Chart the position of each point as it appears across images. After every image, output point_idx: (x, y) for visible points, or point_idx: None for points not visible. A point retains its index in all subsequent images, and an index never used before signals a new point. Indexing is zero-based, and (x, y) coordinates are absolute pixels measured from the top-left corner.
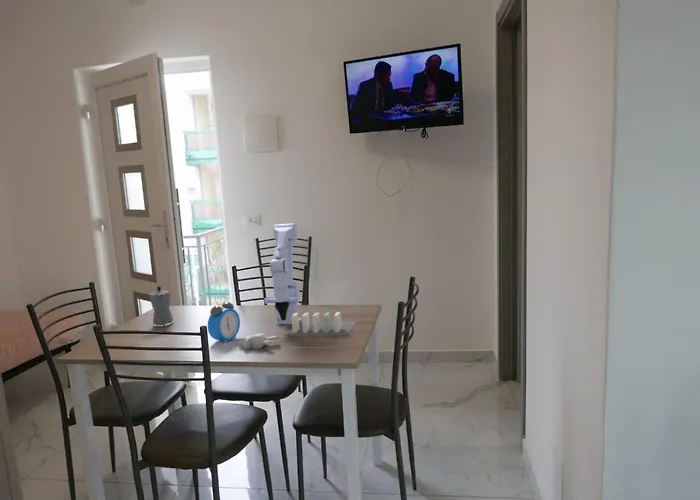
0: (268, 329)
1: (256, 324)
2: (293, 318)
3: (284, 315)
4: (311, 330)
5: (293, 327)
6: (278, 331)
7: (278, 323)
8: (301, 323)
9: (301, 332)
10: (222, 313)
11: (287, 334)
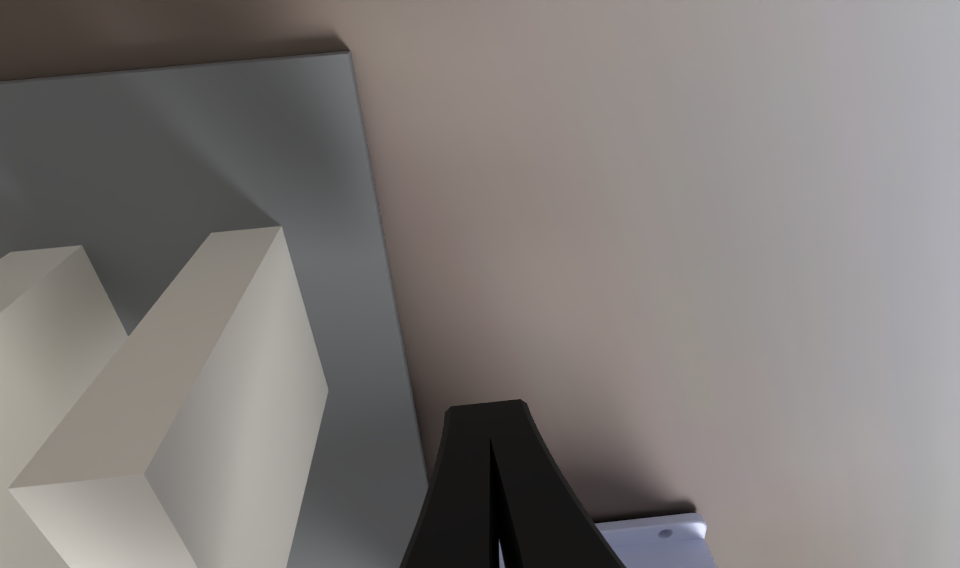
0: (764, 364)
1: (942, 498)
2: (109, 423)
3: (424, 507)
4: None
5: (224, 276)
6: (586, 300)
7: (672, 527)
8: (376, 558)
9: (117, 246)
10: None
11: (322, 116)
